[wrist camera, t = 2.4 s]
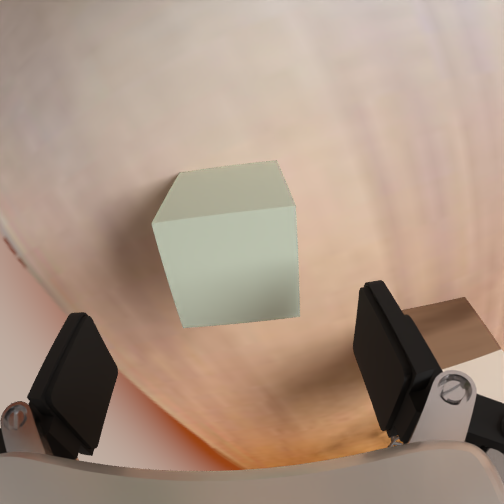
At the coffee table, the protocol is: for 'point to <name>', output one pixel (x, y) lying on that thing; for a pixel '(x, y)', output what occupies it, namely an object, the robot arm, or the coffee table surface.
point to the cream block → (486, 374)
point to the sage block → (230, 245)
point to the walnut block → (453, 331)
